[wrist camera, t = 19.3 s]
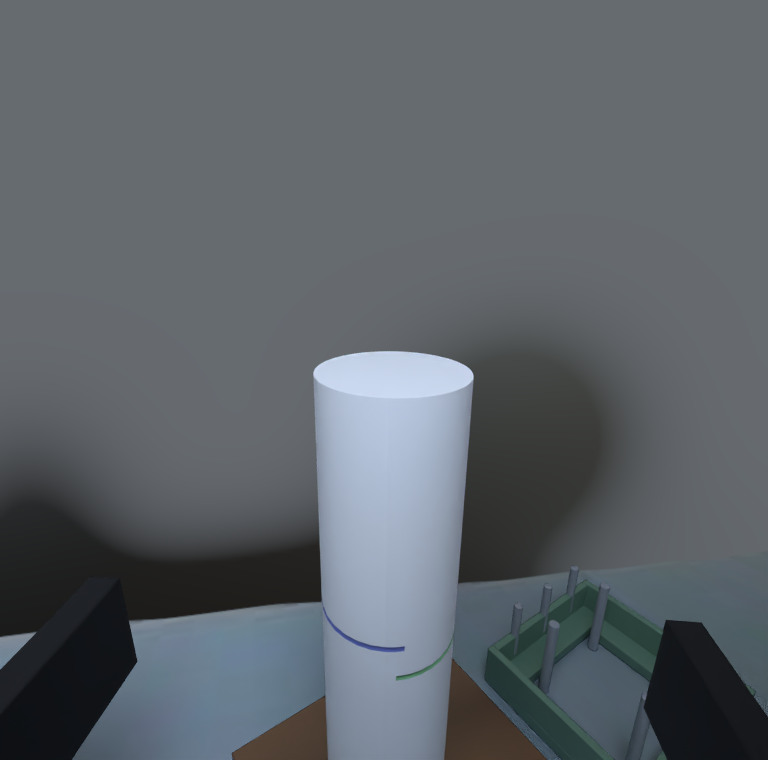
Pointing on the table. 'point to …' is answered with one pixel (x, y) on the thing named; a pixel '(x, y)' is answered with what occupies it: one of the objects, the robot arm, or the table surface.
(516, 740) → the brown slab
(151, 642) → the table surface
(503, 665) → the drying rack
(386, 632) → the cylindrical container
